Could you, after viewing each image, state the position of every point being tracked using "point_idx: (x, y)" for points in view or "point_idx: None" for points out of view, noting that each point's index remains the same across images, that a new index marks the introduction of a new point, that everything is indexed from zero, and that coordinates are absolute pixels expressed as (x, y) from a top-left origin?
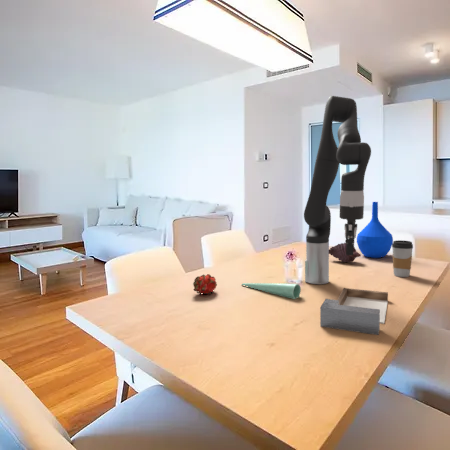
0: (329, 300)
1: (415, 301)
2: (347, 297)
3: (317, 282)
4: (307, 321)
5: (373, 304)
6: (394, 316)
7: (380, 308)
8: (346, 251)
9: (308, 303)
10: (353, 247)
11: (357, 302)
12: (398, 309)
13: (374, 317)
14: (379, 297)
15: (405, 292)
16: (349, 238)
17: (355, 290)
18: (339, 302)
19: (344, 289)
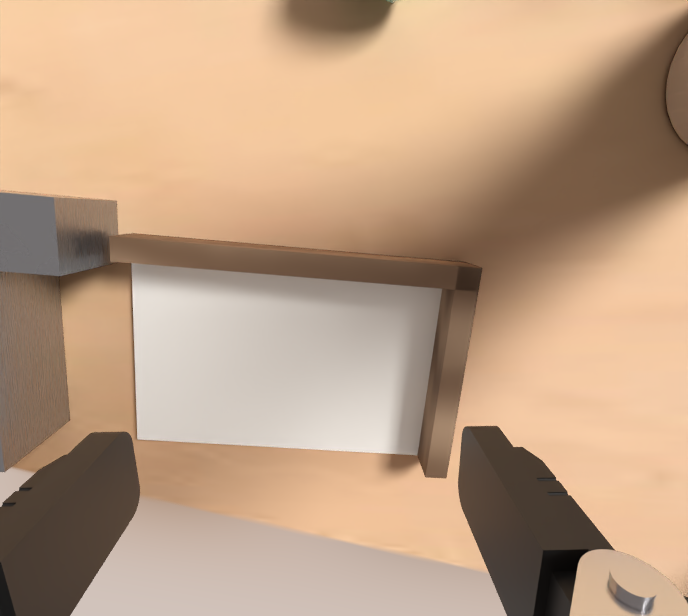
0: (30, 223)
1: (448, 547)
2: None
3: (676, 85)
4: (20, 117)
5: (348, 401)
6: (238, 471)
7: (303, 427)
8: (68, 460)
9: (289, 82)
10: (468, 519)
11: (358, 334)
12: (328, 487)
13: None
14: (424, 430)
15: None
16: (556, 601)
17: (447, 332)
18: (208, 263)
19: (453, 274)
